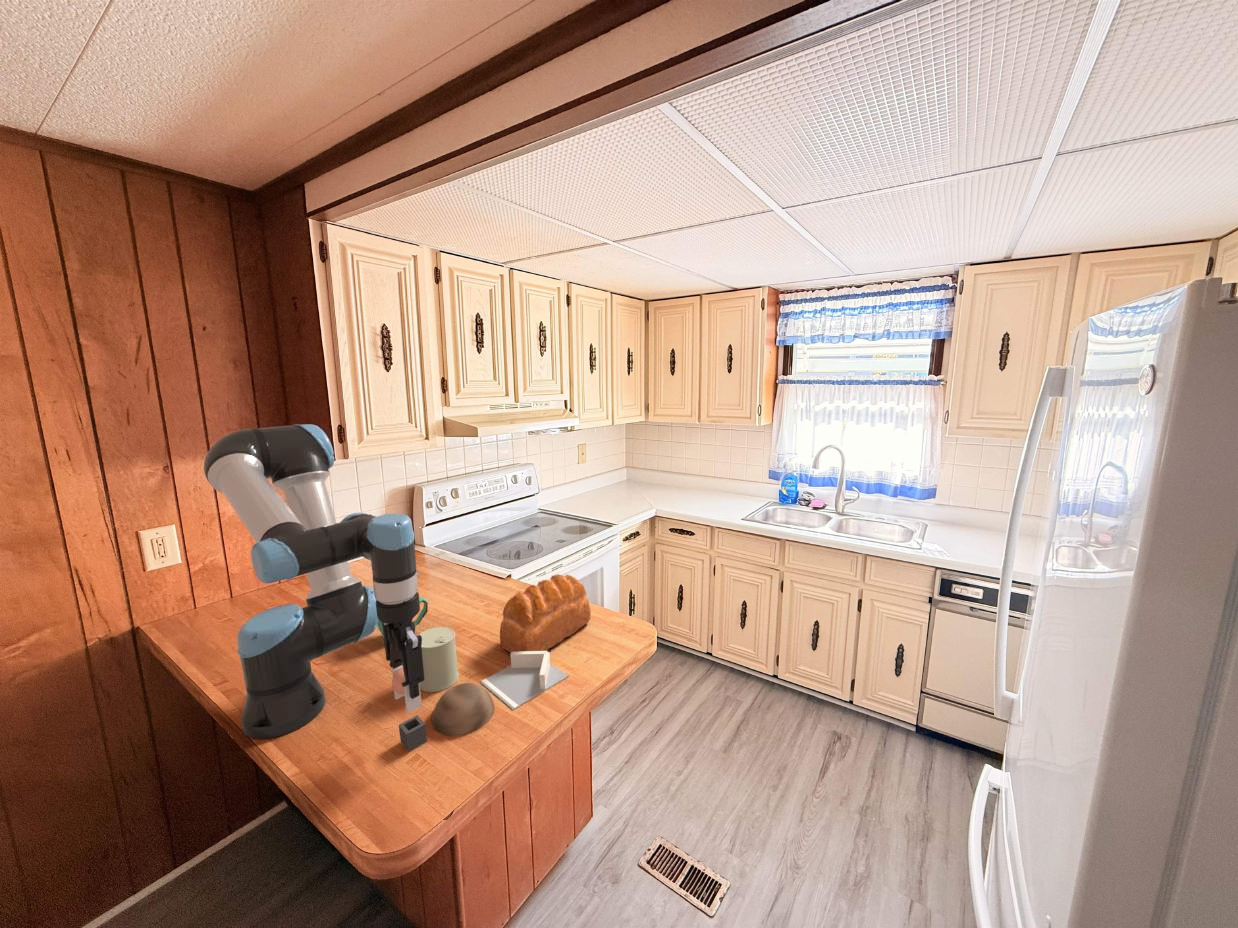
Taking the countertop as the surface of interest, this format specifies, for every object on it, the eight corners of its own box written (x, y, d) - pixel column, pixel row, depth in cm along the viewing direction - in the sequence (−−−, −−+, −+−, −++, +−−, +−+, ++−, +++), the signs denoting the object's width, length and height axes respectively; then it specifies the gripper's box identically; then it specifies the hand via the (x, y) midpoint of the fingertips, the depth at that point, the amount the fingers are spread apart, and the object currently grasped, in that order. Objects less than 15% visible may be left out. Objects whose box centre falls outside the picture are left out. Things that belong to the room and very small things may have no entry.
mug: (381, 651, 129) (376, 617, 127) (371, 636, 136) (367, 603, 134) (435, 632, 138) (432, 600, 136) (424, 618, 145) (421, 588, 144)
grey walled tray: (513, 709, 106) (512, 693, 105) (480, 682, 116) (478, 667, 115) (568, 676, 117) (568, 661, 116) (534, 653, 127) (533, 639, 126)
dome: (453, 775, 98) (447, 719, 95) (424, 742, 106) (419, 690, 104) (507, 739, 107) (504, 688, 104) (477, 711, 116) (473, 663, 113)
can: (435, 697, 111) (430, 650, 108) (410, 683, 115) (405, 638, 113) (467, 675, 118) (463, 631, 116) (442, 664, 123) (438, 621, 121)
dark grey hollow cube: (408, 751, 95) (406, 734, 94) (400, 741, 97) (398, 724, 97) (427, 741, 97) (425, 723, 97) (419, 731, 100) (417, 714, 99)
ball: (399, 704, 92) (397, 681, 91) (388, 691, 96) (386, 669, 94) (424, 691, 96) (422, 669, 95) (413, 679, 99) (412, 658, 98)
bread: (494, 647, 130) (490, 594, 127) (562, 608, 151) (560, 562, 148) (530, 664, 122) (526, 608, 119) (596, 621, 142) (595, 572, 139)
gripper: (438, 605, 88) (447, 715, 93) (398, 574, 100) (407, 673, 105) (396, 620, 82) (408, 736, 87) (359, 586, 95) (371, 689, 100)
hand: (408, 701), depth 96 cm, fingers closed on ball, 5 cm apart
